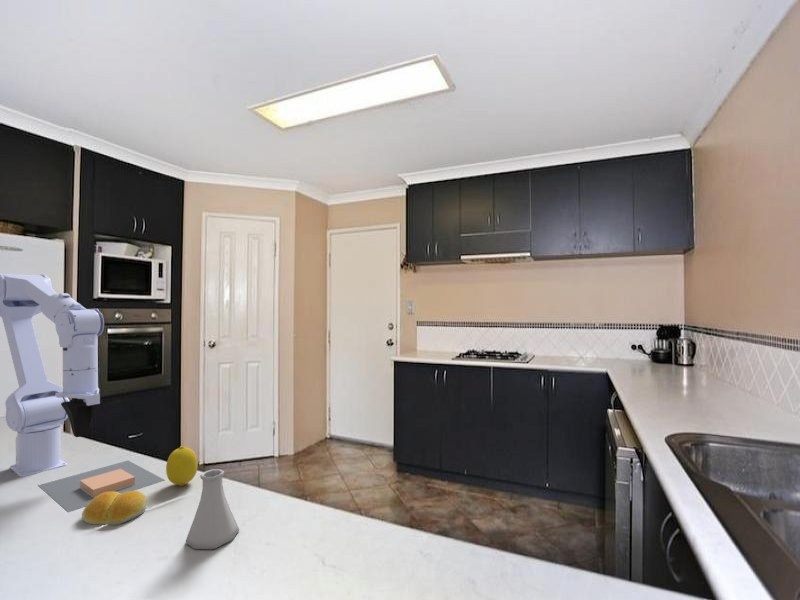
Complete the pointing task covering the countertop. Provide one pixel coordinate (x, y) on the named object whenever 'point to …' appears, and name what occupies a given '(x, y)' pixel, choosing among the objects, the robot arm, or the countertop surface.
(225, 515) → the flask
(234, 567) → the countertop surface
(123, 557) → the countertop surface
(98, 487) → the tile
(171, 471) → the lemon
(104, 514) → the bread roll
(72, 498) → the mat
